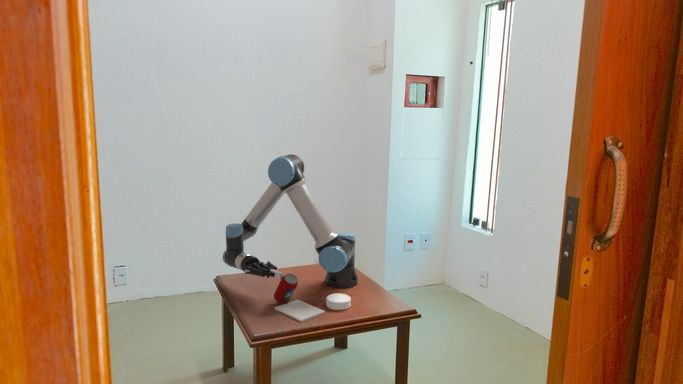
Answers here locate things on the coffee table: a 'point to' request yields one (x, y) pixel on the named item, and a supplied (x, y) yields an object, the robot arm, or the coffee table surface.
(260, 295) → the coffee table surface
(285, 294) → the beverage can
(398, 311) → the coffee table surface
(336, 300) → the coaster
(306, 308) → the mat
